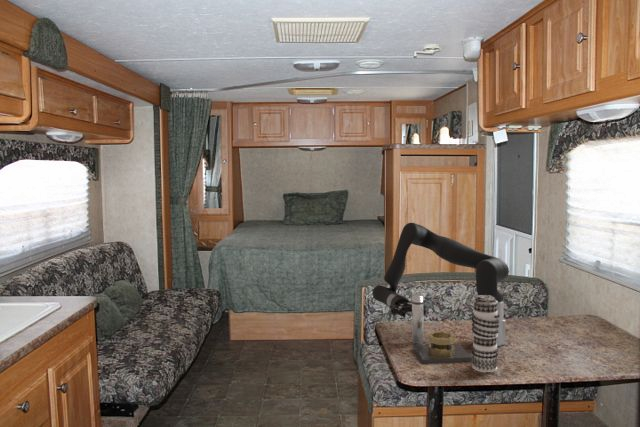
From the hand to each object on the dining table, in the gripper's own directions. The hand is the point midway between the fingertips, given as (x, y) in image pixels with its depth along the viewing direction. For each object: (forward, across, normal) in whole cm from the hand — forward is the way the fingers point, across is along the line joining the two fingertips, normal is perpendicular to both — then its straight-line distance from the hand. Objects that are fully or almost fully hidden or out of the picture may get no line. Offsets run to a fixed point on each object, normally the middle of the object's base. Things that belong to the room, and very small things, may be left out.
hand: (414, 313), depth 201 cm
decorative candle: (+32, +11, +11) cm, 36 cm away
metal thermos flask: (+3, 0, +11) cm, 11 cm away
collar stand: (+17, +2, +11) cm, 21 cm away
